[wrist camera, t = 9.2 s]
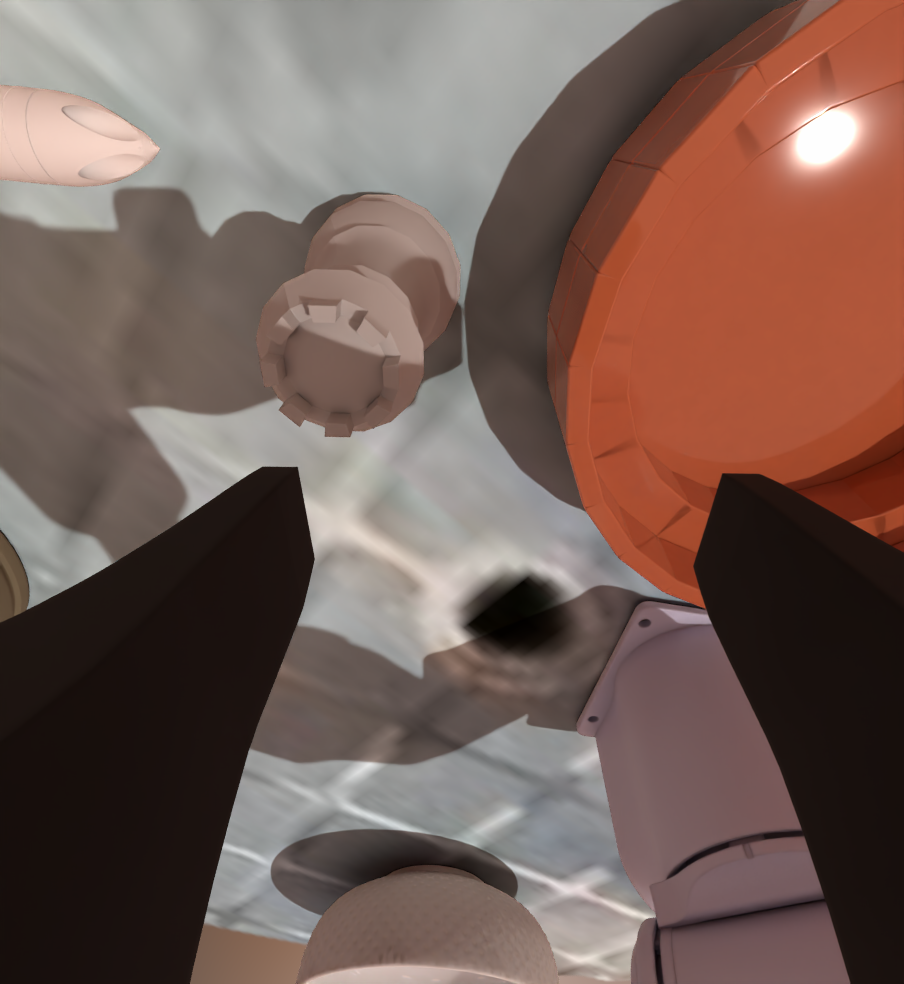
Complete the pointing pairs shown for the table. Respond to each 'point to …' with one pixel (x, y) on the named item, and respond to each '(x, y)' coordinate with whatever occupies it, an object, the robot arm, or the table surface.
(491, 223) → the table surface
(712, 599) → the robot arm
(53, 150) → the pink cylindrical rod
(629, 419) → the terracotta bowl
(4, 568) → the can
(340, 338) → the rook chess piece
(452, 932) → the cereal bowl
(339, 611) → the table surface
